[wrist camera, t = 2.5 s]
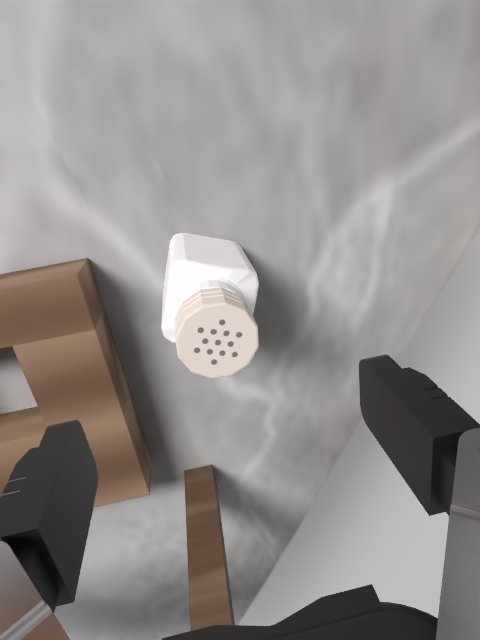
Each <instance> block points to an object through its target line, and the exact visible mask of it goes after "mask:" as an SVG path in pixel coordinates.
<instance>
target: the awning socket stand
mask: <svg viewBox="0 0 480 640" xmlns="http://www.w3.org/2000/svg"><path fill="white" fill-rule="evenodd" d="M10 346H12V347H13V349H14V352H15V354H16V356H17V359H18V361H19V363H20V365H21V368H22V370H23V372H24V375H25V377H26V379H27V382H28V384H29V386H30V389H31V391H32V393H33V396H34V398H35V400H36V402H37V405H38V407H34V408H29V409H24V410H20V411H15V412H10V413H5V414H0V497H2V492H3V490H4V488H5V486H6V484H7V483H9V481H8V480H9V477H10V475H11V473H12V471H13V469H14V467H15V465H16V463H17V462H18V461H19V460H20V459H21V458H22V457H23V456H24V455H25V454H26V453H27V452H28V450H29V449H31V448H35V447H39V445H40V442H41V440H42V438H43V435H44V433H45V430H46V428H47V427H48V426H49V425H54V424H59V423H63V422H68V421H73V420H78V421H79V422H80V423H81V425H82V428H83V430H84V433H85V436H86V438H87V441H88V443H89V446H90V449H91V451H92V454H93V457H94V459H95V462H96V466H97V471H98V486H97V491H96V496H95V501H94V506H93V507H98V506H102V505H107V504H111V503H115V502H120V501H124V500H129V499H133V498H137V497H142V496H146V495H150V480H151V463H152V461H151V458H150V455H149V451H148V448H147V445H146V442H145V439H144V436H143V432H142V429H141V426H140V423H139V420H138V416H137V413H136V410H135V407H134V404H133V400H132V397H131V394H130V391H129V388H128V385H127V381H126V378H125V375H124V372H123V369H122V365H121V362H120V359H119V356H118V353H117V350H116V346H115V343H114V340H113V337H112V334H111V330H110V327H109V324H108V321H107V318H106V314H105V311H104V308H103V305H102V302H101V299H100V295H99V292H98V289H97V286H96V283H95V279H94V276H93V273H92V270H91V267H90V264H89V260H88V258H87V259H81V260H76V261H71V262H65V263H60V264H54V265H49V266H44V267H38V268H33V269H27V270H22V271H17V272H11V273H6V274H0V348H5V347H10ZM184 475H185V500H186V525H187V550H188V575H189V600H190V625H191V631H193V630H197V629H201V628H205V627H209V626H213V625H235V623H234V615H233V608H232V600H231V592H230V585H229V577H228V569H227V561H226V554H225V546H224V538H223V531H222V523H221V515H220V508H219V500H218V492H217V485H216V480H215V476H214V472H213V468H212V465H209V466H204V467H200V468H195V469H191V470H186V471H184Z"/></svg>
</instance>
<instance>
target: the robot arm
mask: <svg viewBox="0 0 480 640" xmlns="http://www.w3.org/2000/svg"><path fill="white" fill-rule="evenodd" d="M359 382H360V406H361V411H362V415H363V418H364V420H365V423H366V425H367V426H368V427H369V429H370V431H371V432H372V433H373V435H374V436H375V438H376V439H377V441H378V442H379V444H380V445H381V446H382V448H383V449H384V451H385V452H386V454H387V455H388V457H389V458H390V460H391V461H392V462H393V464H394V465H395V467H396V468H397V470H398V471H399V473H400V474H401V475H402V477H403V478H404V479H405V481H406V483H407V484H408V486H409V487H410V488H411V490H412V491H413V493H414V494H415V495H416V497H417V499H418V500H419V501H420V503H421V504H422V506H423V507H424V509H425V510H426V512H427V513H428V514H429V516H430V515H434V514H438V513H442V512H447V514H448V515H449V525H448V534H447V543H446V551H445V561H444V569H443V578H442V587H441V597H440V606H439V615H438V618H436V617H434V616H432V615H430V614H428V613H426V612H423V611H420V610H418V609H416V608H412V607H408V606H405V605H401V604H395V603H389V602H380V601H379V599H378V597H377V594H376V592H375V590H374V588H373V586H372V584H371V585H367V586H364V587H360V588H356V589H352V590H348V591H344V592H340V593H336V594H332V595H329V596H325V597H321V598H320V599H318V600H316V601H315V602H313V603H311V604H309V605H308V606H306V607H305V608H303V609H301V610H299V611H298V612H296V613H294V614H292V615H291V616H289V617H287V618H286V619H284V620H282V621H281V622H279V623H277V624H275V625H272V626H238V625H213V626H209V627H205V628H201V629H197V630H193V631H189V632H186V633H182V634H178V635H174V636H170V637H166V638H162V640H480V424H479V423H477V422H476V421H475V420H474V419H473V418H472V417H471V416H470V415H469V414H468V413H467V412H466V411H464V410H463V409H462V408H461V407H460V406H459V405H458V404H457V403H456V402H455V401H454V400H452V399H451V398H450V397H448V396H447V394H446V393H445V392H444V391H443V390H442V389H440V388H438V386H437V385H436V384H435V383H434V382H433V381H432V380H431V379H429V377H427V376H426V375H425V374H422V373H420V372H418V371H416V370H414V369H411V368H409V367H408V368H404V369H402V368H401V367H400V366H399V365H398V364H397V363H396V362H395V361H394V360H393V359H392V358H391V357H390V356H388V355H381V356H377V357H372V358H367V359H363V360H361V361H360V363H359ZM8 481H9V483H7V484H6V486H5V488H4V490H3V492H2V497H0V640H70V639H69V637H68V635H67V634H66V632H65V631H64V629H63V628H62V626H61V624H60V623H59V621H58V620H57V618H56V616H55V615H54V610H55V607H56V606H60V605H64V604H68V603H72V602H74V599H75V594H76V589H77V584H78V579H79V574H80V570H81V565H82V560H83V555H84V550H85V545H86V540H87V535H88V531H89V526H90V521H91V516H92V511H93V506H94V501H95V496H96V491H97V486H98V471H97V466H96V462H95V459H94V457H93V454H92V451H91V449H90V446H89V443H88V441H87V438H86V436H85V433H84V430H83V428H82V425H81V423H80V422H79V421H78V420H73V421H68V422H63V423H59V424H54V425H49V426H48V427H47V428H46V430H45V433H44V435H43V438H42V440H41V442H40V445H39V447H35V448H31V449H29V450H28V452H27V453H26V454H25V455H24V456H23V457H22V458H21V459H20V460H19V461H18V462H17V463H16V465H15V467H14V469H13V471H12V473H11V475H10V477H9V480H8Z"/></svg>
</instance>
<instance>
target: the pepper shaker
mask: <svg viewBox="0 0 480 640" xmlns="http://www.w3.org/2000/svg"><path fill="white" fill-rule="evenodd" d="M258 287H259V282H258V277H257V273H256V271H255V270H254V268H253V267H252V265H251V263H250V262H249V260H248V258H247V257H246V255H245V253H244V252H243V250H242V248H241V247H240V245H238V244H237V243H235V242H233V241H229V240H223V239H217V238H211V237H205V236H199V235H193V234H187V233H179V234H175V235H174V236H173V238H172V239H171V241H170V246H169V253H168V260H167V267H166V274H165V281H164V288H163V306H162V327H161V329H162V332H163V335H164V337H165V338H167V339H168V340H170V341H171V342H173V343H176V347H177V354H178V357H179V358H180V360H181V361H182V362H183V363H184V364H185V365H186V366H187V368H188V369H189V370H190V371H191V372H194V373H197V374H200V375H202V376H205V377H208V378H217V377H225V376H232V375H233V374H235V373H236V372H238V371H239V370H241V369H242V368H244V367H245V366H247V365H249V363H250V361H251V360H252V358H253V356H254V354H255V352H256V351H257V349H258V347H259V339H258V326H257V324H256V321H255V319H254V317H253V313H254V308H255V304H256V298H257V292H258Z"/></svg>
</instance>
